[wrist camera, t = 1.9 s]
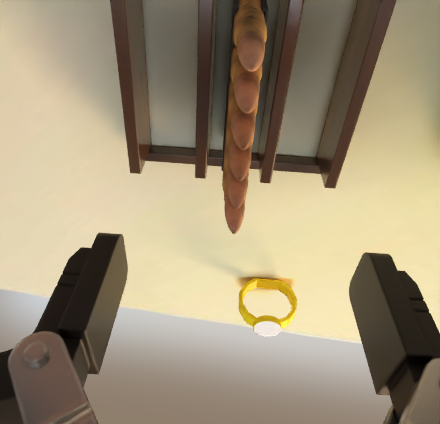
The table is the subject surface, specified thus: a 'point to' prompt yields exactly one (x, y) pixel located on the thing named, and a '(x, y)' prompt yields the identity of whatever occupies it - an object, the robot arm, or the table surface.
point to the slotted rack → (276, 93)
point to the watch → (267, 324)
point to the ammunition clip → (242, 102)
